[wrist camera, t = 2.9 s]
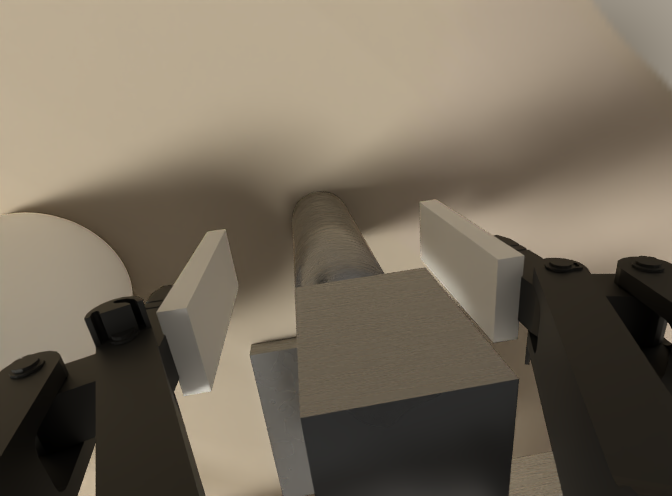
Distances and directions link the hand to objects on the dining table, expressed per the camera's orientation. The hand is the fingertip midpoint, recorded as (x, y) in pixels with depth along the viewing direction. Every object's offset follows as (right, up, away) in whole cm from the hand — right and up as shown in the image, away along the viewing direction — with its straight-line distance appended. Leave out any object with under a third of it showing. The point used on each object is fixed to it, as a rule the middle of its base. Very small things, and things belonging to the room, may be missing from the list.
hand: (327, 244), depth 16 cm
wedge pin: (0, +1, +4) cm, 4 cm away
